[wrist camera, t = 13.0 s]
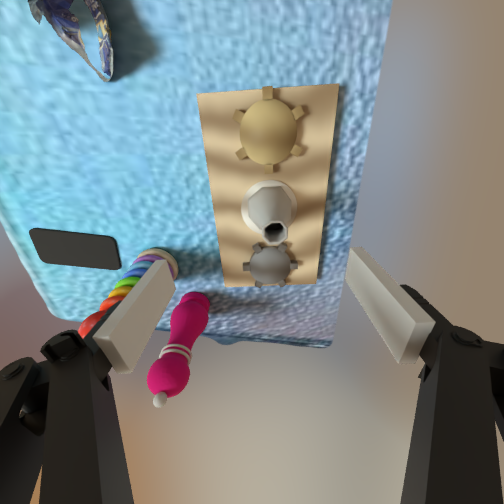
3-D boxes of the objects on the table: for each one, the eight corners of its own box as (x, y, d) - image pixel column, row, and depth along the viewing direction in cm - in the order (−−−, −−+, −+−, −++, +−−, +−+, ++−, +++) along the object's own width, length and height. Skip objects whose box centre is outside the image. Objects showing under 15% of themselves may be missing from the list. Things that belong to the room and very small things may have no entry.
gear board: (199, 96, 27) (194, 91, 25) (335, 86, 27) (342, 80, 24) (225, 282, 42) (224, 290, 40) (314, 279, 41) (317, 287, 39)
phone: (120, 271, 41) (41, 263, 40) (123, 268, 41) (45, 261, 41) (113, 237, 37) (26, 228, 36) (116, 235, 38) (30, 226, 37)
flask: (297, 220, 34) (312, 248, 25) (256, 235, 35) (257, 266, 26) (284, 177, 31) (296, 192, 22) (240, 195, 32) (234, 216, 23)
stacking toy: (179, 249, 39) (123, 330, 22) (180, 283, 42) (132, 373, 26) (136, 243, 38) (46, 321, 22) (141, 278, 42) (67, 367, 25)
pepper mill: (201, 285, 43) (163, 386, 25) (218, 308, 46) (195, 414, 28) (172, 296, 44) (117, 399, 26) (190, 318, 47) (152, 423, 30)
